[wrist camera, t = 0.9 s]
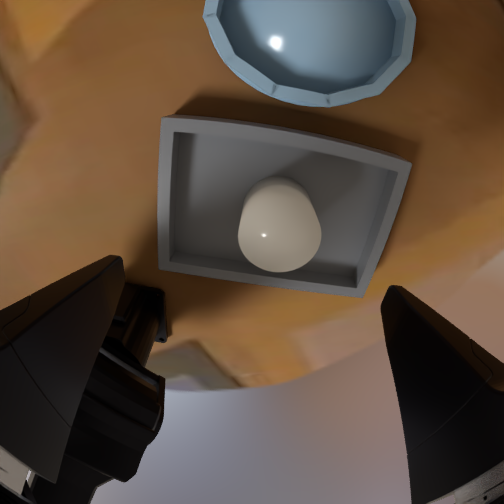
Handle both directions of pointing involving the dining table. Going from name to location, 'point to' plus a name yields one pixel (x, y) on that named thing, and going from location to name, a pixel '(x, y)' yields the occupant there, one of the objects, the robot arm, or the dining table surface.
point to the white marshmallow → (278, 225)
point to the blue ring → (313, 46)
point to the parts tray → (262, 166)
